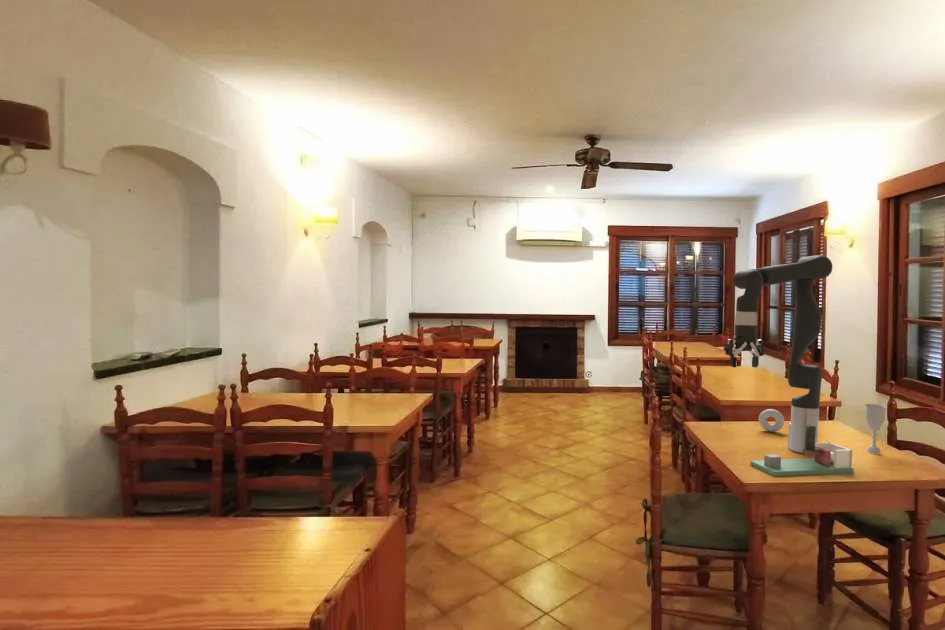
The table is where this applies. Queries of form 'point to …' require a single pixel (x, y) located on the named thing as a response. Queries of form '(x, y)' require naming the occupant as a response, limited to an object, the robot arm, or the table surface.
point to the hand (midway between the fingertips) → (744, 367)
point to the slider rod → (819, 453)
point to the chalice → (875, 423)
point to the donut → (771, 413)
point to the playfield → (795, 466)
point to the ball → (832, 458)
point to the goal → (838, 454)
